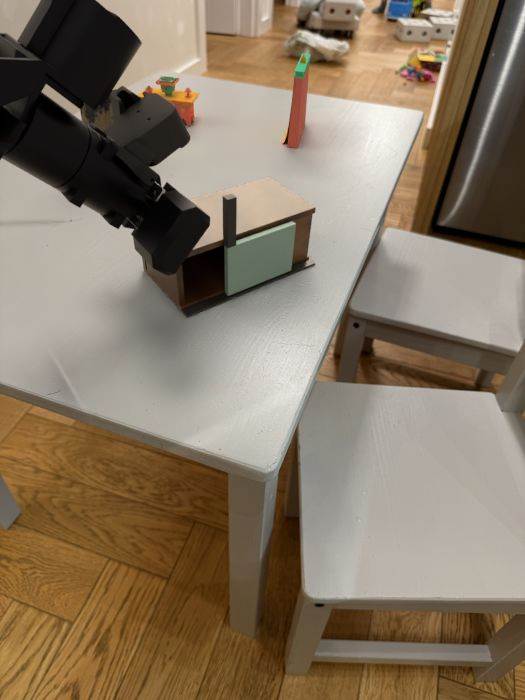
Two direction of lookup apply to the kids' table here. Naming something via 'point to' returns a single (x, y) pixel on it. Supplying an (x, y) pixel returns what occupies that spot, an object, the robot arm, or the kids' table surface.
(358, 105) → the kids' table surface
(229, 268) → the sliding door
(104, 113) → the mug
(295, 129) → the building blocks
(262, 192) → the cabinet
